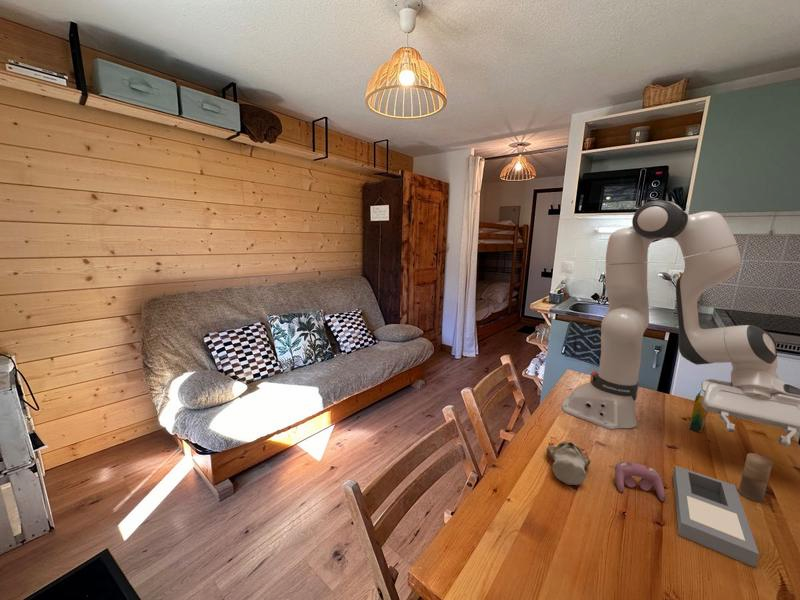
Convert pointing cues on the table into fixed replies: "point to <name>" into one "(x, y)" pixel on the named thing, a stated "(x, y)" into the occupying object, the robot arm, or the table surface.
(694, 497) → the hole board
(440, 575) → the table surface
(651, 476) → the video game controller
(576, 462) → the ceramic sculpture
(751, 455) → the walnut peg
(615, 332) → the robot arm
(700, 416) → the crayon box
